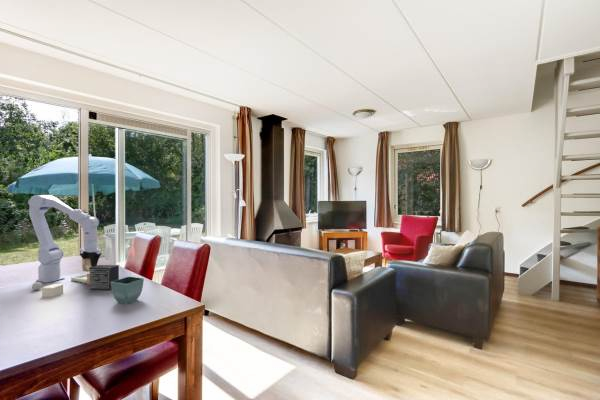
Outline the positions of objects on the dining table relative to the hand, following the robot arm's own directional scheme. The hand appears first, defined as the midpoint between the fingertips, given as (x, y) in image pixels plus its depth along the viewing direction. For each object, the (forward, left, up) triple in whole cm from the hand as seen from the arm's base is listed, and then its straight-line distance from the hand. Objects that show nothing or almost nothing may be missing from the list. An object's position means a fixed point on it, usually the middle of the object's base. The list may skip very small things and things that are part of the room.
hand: (90, 266), depth 154 cm
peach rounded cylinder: (+9, -5, -7) cm, 12 cm away
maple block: (0, -1, -2) cm, 2 cm away
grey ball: (-5, -21, -5) cm, 22 cm away
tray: (0, 0, -7) cm, 7 cm away
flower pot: (+47, -15, -7) cm, 50 cm away
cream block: (+9, -22, -7) cm, 25 cm away
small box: (+21, -7, -7) cm, 23 cm away
